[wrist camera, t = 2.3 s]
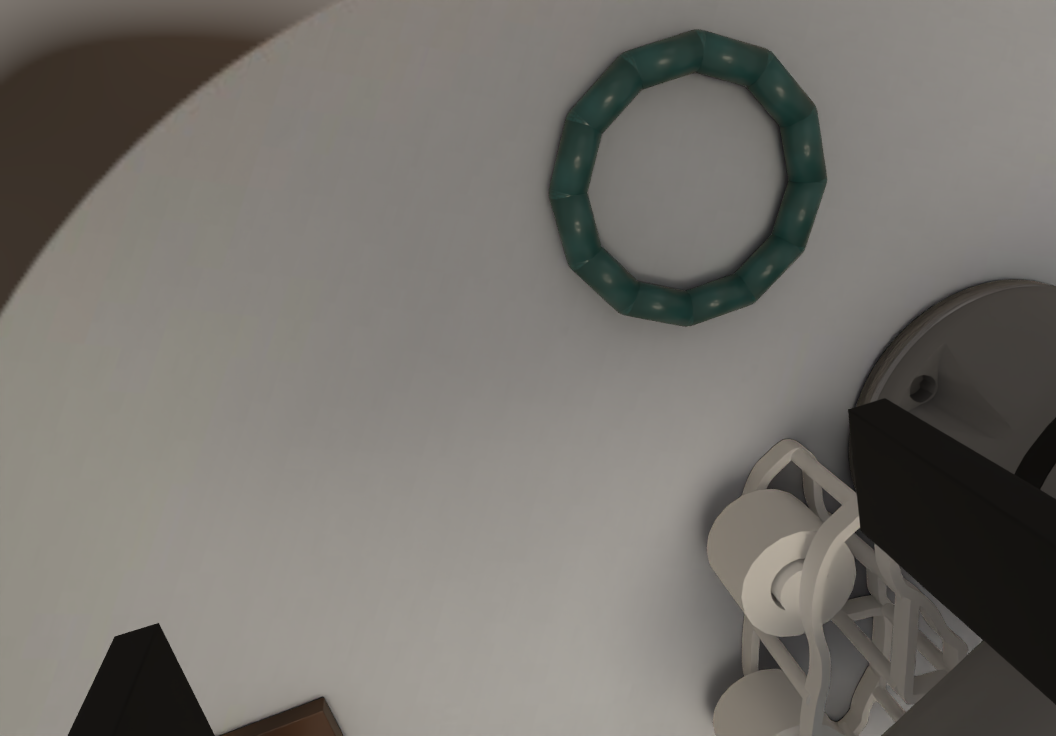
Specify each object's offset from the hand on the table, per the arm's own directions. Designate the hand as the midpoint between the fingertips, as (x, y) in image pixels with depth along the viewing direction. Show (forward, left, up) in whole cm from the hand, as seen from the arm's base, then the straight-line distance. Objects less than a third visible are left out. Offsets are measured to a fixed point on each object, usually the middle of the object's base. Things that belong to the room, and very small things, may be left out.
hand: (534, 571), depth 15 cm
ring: (-12, -1, -21) cm, 24 cm away
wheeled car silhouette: (-13, +23, -22) cm, 34 cm away
